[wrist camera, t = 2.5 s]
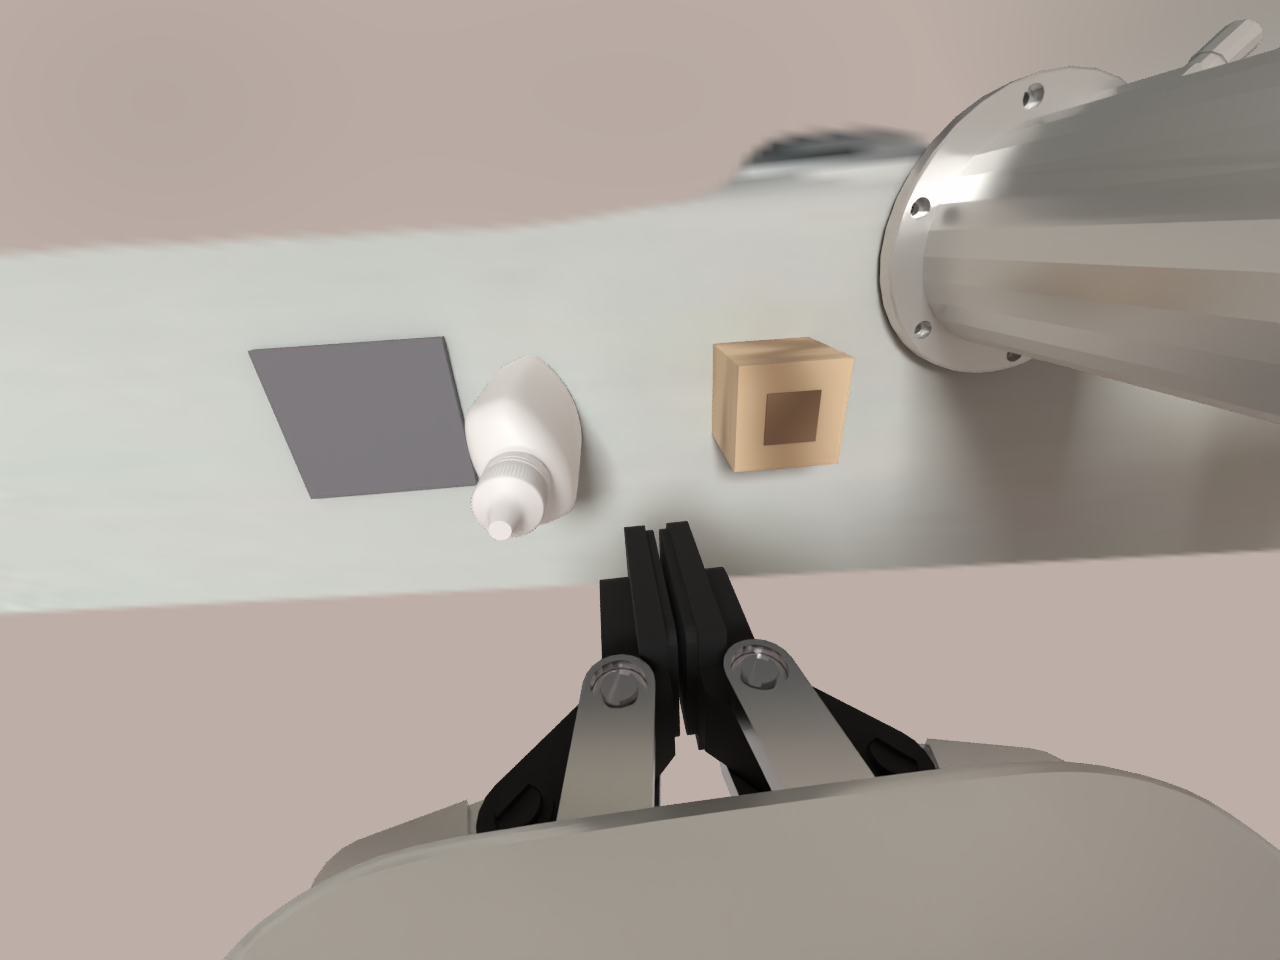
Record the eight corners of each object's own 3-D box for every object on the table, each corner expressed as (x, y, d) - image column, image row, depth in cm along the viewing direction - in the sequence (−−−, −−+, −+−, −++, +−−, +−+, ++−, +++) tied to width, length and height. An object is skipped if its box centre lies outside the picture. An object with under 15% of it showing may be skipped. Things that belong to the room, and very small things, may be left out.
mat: (443, 336, 23) (441, 337, 23) (478, 481, 27) (476, 485, 26) (253, 349, 22) (247, 351, 22) (315, 495, 26) (311, 498, 26)
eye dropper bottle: (501, 452, 26) (433, 600, 15) (498, 349, 23) (414, 440, 13) (581, 457, 26) (569, 604, 16) (586, 357, 24) (576, 450, 13)
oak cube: (807, 336, 24) (855, 358, 20) (798, 426, 27) (839, 464, 22) (712, 343, 24) (739, 366, 20) (711, 434, 27) (734, 473, 22)
